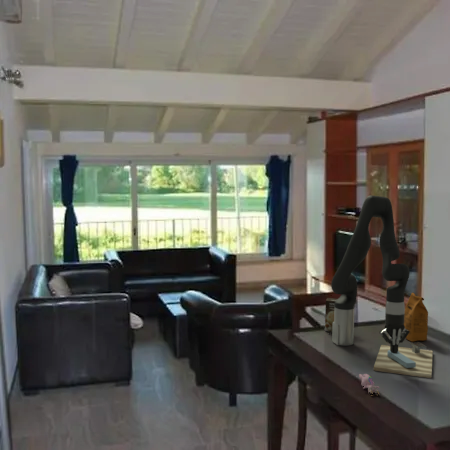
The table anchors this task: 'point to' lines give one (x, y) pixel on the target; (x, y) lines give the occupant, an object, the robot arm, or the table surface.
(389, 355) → the link
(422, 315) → the coffee package
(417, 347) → the block
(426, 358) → the pivot board
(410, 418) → the table surface
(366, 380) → the rabbit figure
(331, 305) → the coffee box
